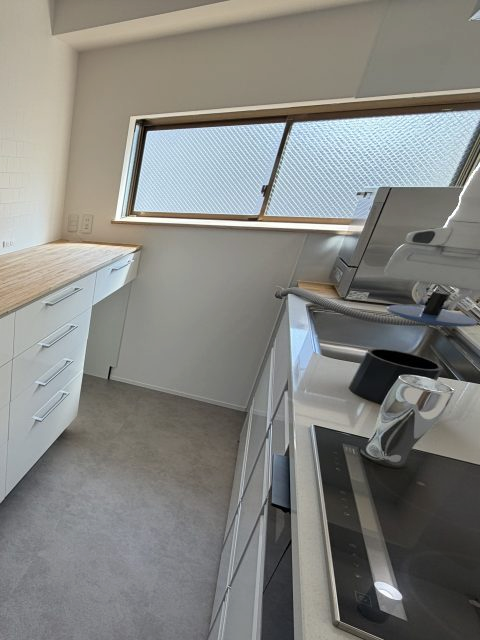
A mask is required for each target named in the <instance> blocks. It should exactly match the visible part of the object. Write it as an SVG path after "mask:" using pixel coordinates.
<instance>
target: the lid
mask: <svg viewBox="0 0 480 640" xmlns="http://www.w3.org/2000/svg"><path fill="white" fill-rule="evenodd" d="M451 295H452V294H451V293H449V292H446V291H438V290H436V291H435V290H433V291H432V292H431V294H430V296H429V297H430V298H429V300H428V302H427V304H426V306H415V305H406V304H404V305H403V304H392V305H388V306H387V308H386V311H387V312H388V313H390V314H392V315H394V316H398V317H400V318H402V319H405V320H409V321H412V322H417V323H422V324H427V325H433V326H439V327H440V326H441V327H463V328H464V327H474V326H476V325H477V324H478V320H476V319H475V318H472V317H471V316H467V315H464V314H460V313H456V312H452V311H449V310H444V309H441V307H442V306H443V305H444V302H445V301H447V300H449V298H450V296H451Z"/></svg>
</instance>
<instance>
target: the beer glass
mask: <svg viewBox="0 0 480 640" xmlns="http://www.w3.org/2000/svg"><path fill="white" fill-rule="evenodd" d="M455 392H456V389H455V388H454V387H453V386H451V385H450V384H447V383H444V381H443V382H442V381H440V380H438V379H437V380H434V379H430V378H426V377H422V376H416V375H400V376H399V378H398V379H397V381H396V382H395V384H394V385H393V386H392V388H391V389H390V391H389V392H388V394H387V395H386V397H385V399H384V401H383V403H382V405H381V404H380V405H381V406H380V408H379V410H378V415H377V418H376V422H375V426H374V428H373V431H372V433H371V435H370V437H369V439H368V440H367V441H366V442H365V443H364V444H363V445H362V446H361V447H360V448H359V453H360V454H361V455H362V456H363V457H364V458H366V459H367V460H369V461H371V462H373V463H375V464H378V465H381V466H383V467H387V468H392V469H402V468H404V467H405V466H406V465H407V462H408V458H409V455H410V454H411V453H410V452H411V451H412V449H413V448H414V447H415V445H416V444H417V443H418V442H419V441H420V440H421V439H422V438H423V437H424V436H425V435H426V434H427V433H428V432H429V431H430V430H431V429H432V428H433V427H434V426H435V425H436V423H438V421H439V420H440V419H441V417H442V416H443V414H444V413H445V411H446V409H447V407H448V405H449V403H450V401H451V399H452V397H453V395H454V393H455Z"/></svg>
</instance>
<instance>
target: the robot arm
mask: <svg viewBox="0 0 480 640" xmlns="http://www.w3.org/2000/svg"><path fill="white" fill-rule="evenodd" d="M405 242H406V243H403V244H402V245H400V246H399V247H398V248H396V250H395V251H394V252H393V254H392V255H391V256H390V259H389V260H388V262H387V264H386V265H385V268H384V270H383V272H384V275H385V277H387V278H392V279H393V278H394V279H398V280H399V279H400V280H407V281H412V282H418V283H417V285H416V290H417V294H418V298H417V300H416V302H415V304H416V305H419V306H423V307H425V306H426V304H427V302H428V300H429V298H430V296H428V292H427V289H428V288H431V286H432V285H436V286H442V287H443V286H444V287H449V288H454V289H455V288H456V289H459V290H458V292H457V294H458V295H459V296H457V297H455V298H453V299H452V300H451V299H448V300H447V301H445V302H444V305H443V306H442V307H441V309H442V310H443V311H448V312H452V311H454V310H455V308H456V307H457V305H458V304H459V302H462V301H464V300H465V299H466V298H468V297H470V296H472V294H473V292H480V162H479V163H478V164H477V166H476V168H475V169H473V172H472V173H471V175H470V177H469V179H468V180H467V182H466V184H465V186H464V187H463V190H461V193H460V195H459V198H458V203H457V206H456V208H455V210H454V211H453V213H451V215H450V216H449V217H448V218H447V221H446V222H445V223H444V226H443V227H433V228H428V229H423V230H422V229H421V230H416V231H411V232H409V233H407V235H406V237H405Z"/></svg>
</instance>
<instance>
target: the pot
mask: <svg viewBox="0 0 480 640" xmlns="http://www.w3.org/2000/svg"><path fill="white" fill-rule="evenodd" d="M443 371H444V367H443V365H442V364H440V363H439V362H437V361H435V360H432V359H429V358H427V357H424V356H420V355H417V354H413V353H409V352H406V351H400V350H396V349H388V348H371V349H367V350H366V352H365V354H364V356H363V358H362V360H361V362H360V363H359V366H358V367H357V370H356V371H355V374H354V376H353V377H352V379H351V381H350V383H349V385H348V389H349V391H350V392H352V393H353V394H355V396H358V397H359V398H362V399H364V400H367V401H369V402H372V403H375V404H377V405H382V403H383V401H384V399H385V397H386V395H387V394H388V392H389V391H390V389H391V388H392V386H393V385H394V384H395V382H396V381H397V379H398V378H399V376H400V375H416V376H422V377H426V378H430V379H434V380H437V381H438V379H439V377H440V376H441V374H442V372H443Z"/></svg>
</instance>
